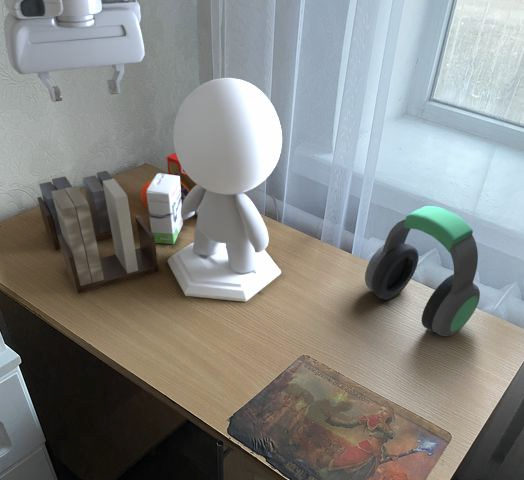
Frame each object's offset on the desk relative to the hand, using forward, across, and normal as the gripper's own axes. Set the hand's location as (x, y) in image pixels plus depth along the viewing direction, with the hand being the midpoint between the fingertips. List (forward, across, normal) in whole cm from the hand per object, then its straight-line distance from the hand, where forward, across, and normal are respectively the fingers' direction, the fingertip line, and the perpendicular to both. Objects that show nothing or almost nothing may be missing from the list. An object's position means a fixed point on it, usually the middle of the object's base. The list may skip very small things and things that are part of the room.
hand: (86, 96), depth 87 cm
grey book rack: (+32, +2, -12) cm, 34 cm away
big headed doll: (+31, -19, +13) cm, 39 cm away
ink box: (+32, -14, -4) cm, 35 cm away
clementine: (+32, -16, -15) cm, 38 cm away
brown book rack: (+32, +2, +4) cm, 32 cm away
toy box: (+32, -24, -8) cm, 41 cm away
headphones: (+31, -44, +40) cm, 68 cm away
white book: (+30, -2, +4) cm, 31 cm away
